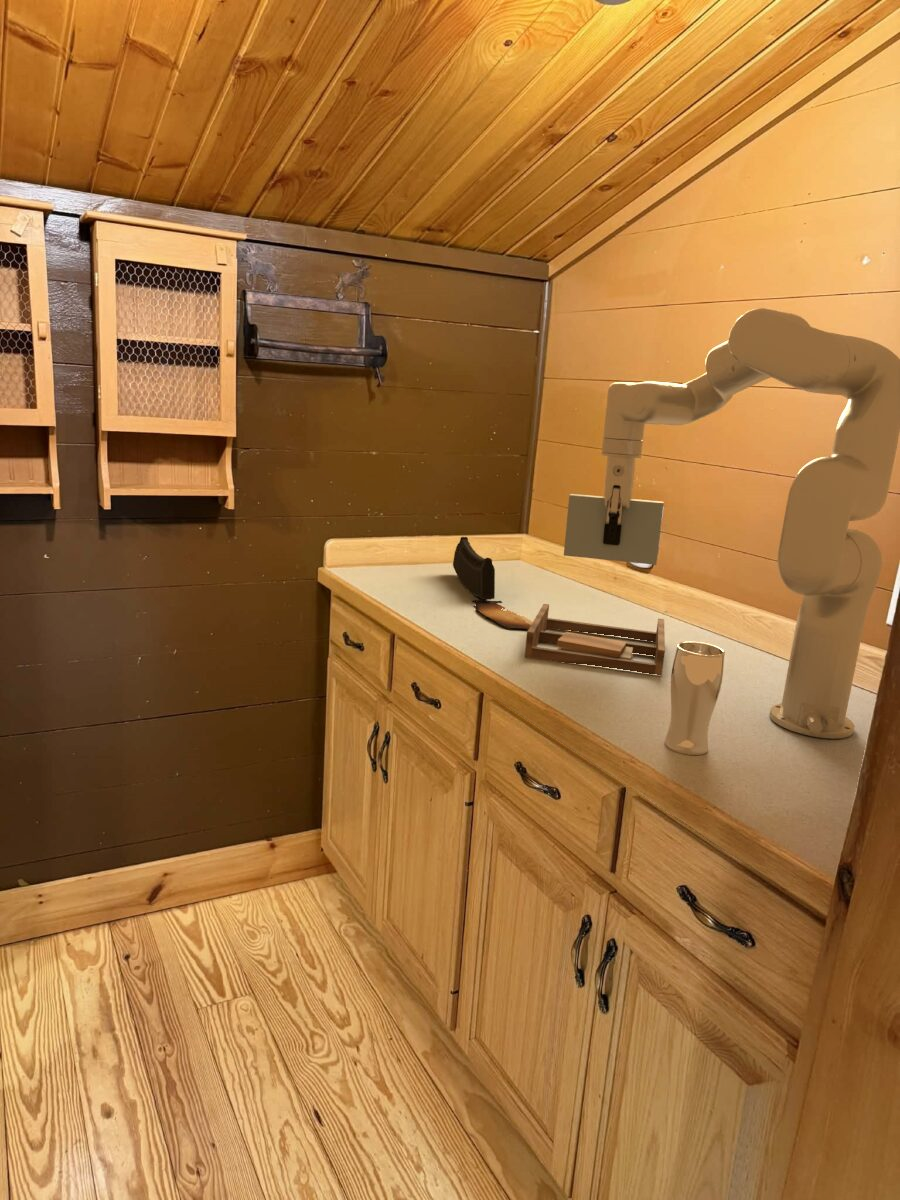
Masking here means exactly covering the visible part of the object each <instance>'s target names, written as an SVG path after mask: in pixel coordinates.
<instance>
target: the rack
mask: <svg viewBox="0 0 900 1200" xmlns="http://www.w3.org/2000/svg"><path fill="white" fill-rule="evenodd" d="M549 608H550V604H548V603H543V604H542V606H541V608H540V610H539V611H538V612H537V614H536V616H535V617H534V619H533V621H532V622H533V623H532V625H531V626H530V628H529V630H528V629H527V632H526V640H525V649H524V651H525V652H524V658H526V657H527V658H528V659H533V658H534V659H535V660H540V659H541V660H542V661H548V662H556V663H561V662H564V663H563V664H568V663H576V664H587V665H595V666H602V667H609V668H617V669H623V670H630V671H637V672H642V673H649V674H657V675H661V676H662V674H663V667H664V660H665V652H666V641H665V640H666V638H665V637H666V636H665V619H664V618H658V619H657V626H656V630H655V631H649V630H642V629H635V628H629V627H628V628H626V627H619V626H613V625H612V626H611V625H603V624H596V623H590V622H589V623H588V622H581V621H573V620H565V619H560V618H552V617H551V618H550V617H549V611H550V609H549ZM548 628H550V629H549V630H555V629H560V630H559V631H563V630H571V631H579V632H588V633H597V634H604V635H614V636H621V637H628V638H634V639H640V640H647V641H653V642H655V643H654V645H650V644H648V645H647V644H643V643H635V642H634V643H633V642H627V641H626V642H627V644H626V647H633V651H632V653H639V654H646V655H653V656H655V657H654V662H648V661H641V660H640V661H639V660H627V659H620V658H613V657H606V656H599V655H591V654H584V653H577V652H570V651H563V650H557V648H556V649H554V648H547V647H541V646H539V643H540V641H541V643H548V644H554V645H555V644H556V645H557V640H558V639H559V638H560V637H561V636H562V635H563V634H564V633H559V632H552V631H547V629H548ZM545 629H546V630H545ZM534 659H533V660H534Z"/></svg>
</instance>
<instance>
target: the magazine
mask: <svg viewBox="0 0 900 1200" xmlns="http://www.w3.org/2000/svg"><path fill="white" fill-rule="evenodd" d="M452 567H453V569H454V571H455V574H456V576H457V577H458V579H459V581H460V583H461V584H462V585H463V587H464V588H465V589H466V590H467V591H468V592H469V593H470V594H472V595H473V596H476V597H478V598H480V600H487V601H492V600H494V599H495V598H496V597H495V593H496V591H495V589H496V588H495V587H496V586H495V585H496V573H495V572H496V569H495V567H494V565H493V559H492V558H490V557H486V558H484V557H483V556H481V555H479V554H478V553H477V552H476V551H475V550H474V549H473V547H472V545H471V543H470V542H469V538H468V536H461V537H460V539H459V542H458V543H457V545H456V547H455V550H454V554H453V563H452Z"/></svg>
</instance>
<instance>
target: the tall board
mask: <svg viewBox="0 0 900 1200" xmlns="http://www.w3.org/2000/svg"><path fill="white" fill-rule="evenodd" d="M568 496H569V497H568V505H567V506H568V507H567V517H566V527H565V528H566V529H565V537H564V547H563V557H564V556H565V557H575V558H576V557H577V558H585V559H594V560H605V561H606V560H607V561H615V562H623V563H624V562H625V563H634V564H644V565H655V566H656V565H657V562H658V561H657V560H658V554H659V545H660V539H661V538H660V537H661V529H662V528H661V527H662V520H663V512H664V511H663V510H664V503H665V501H659V500H648V499H636V498H631V504H630V508H629V509H628V510H626V507H623V506H622V514H621V523H620V525H622V527H621V536H620V544H619V545H608V544H603V537H604V527H605V523H606V519H607V508H608V505H607V508H606V507H605V506H604V496H601V495H588V494H579V493H578V494H575V493H570V494H569V495H568ZM608 501H609V500H608ZM608 501H607V503H608ZM610 508H611V504H610ZM618 508H619V509H620V505H619V506H618ZM618 513H619V512H618Z"/></svg>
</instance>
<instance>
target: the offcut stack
mask: <svg viewBox="0 0 900 1200" xmlns="http://www.w3.org/2000/svg"><path fill="white" fill-rule="evenodd" d="M562 634H563V635H562V636H561V637H560V638H559V639H558V640H557V644H556V647H557V648H556V650H563V651H570V652H577V653H584V654H591V655H599V656H606V657H613V658H620V659H627V660H631V659H633V658H632V656H633V657H634V654H632V651H633V647H626V644H627V641H621V640H616V639H609V638H606V637H599V636H595V635H594V636H593V635H589V634H583V633H577V632H570V631H564V633H562Z"/></svg>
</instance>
